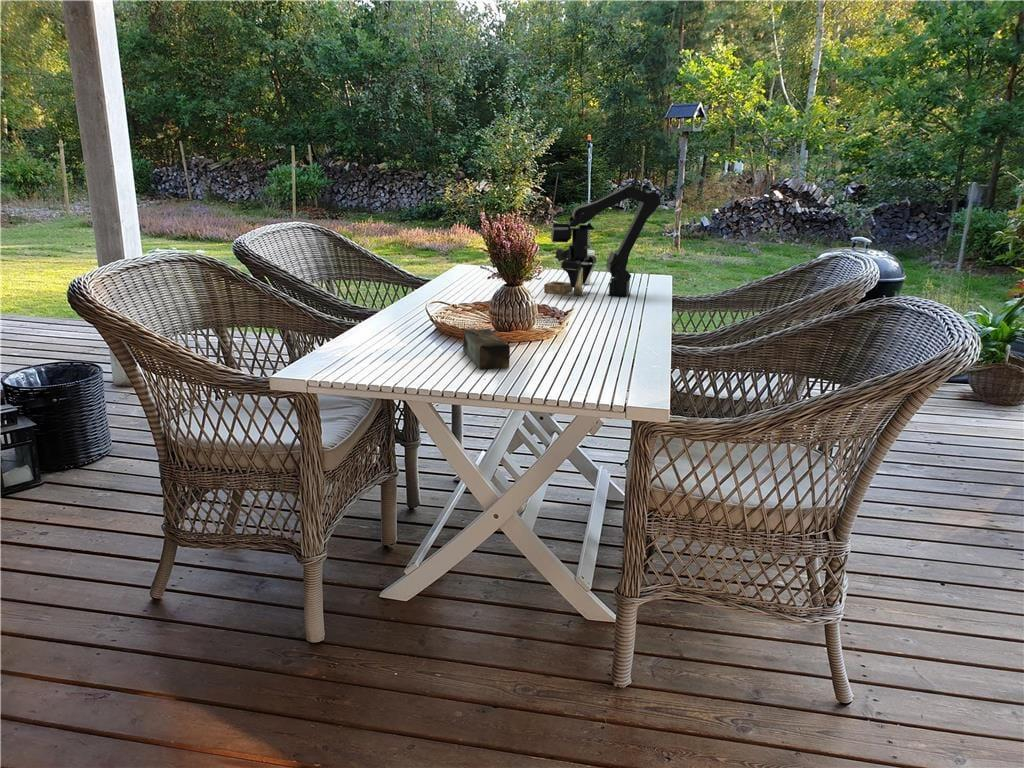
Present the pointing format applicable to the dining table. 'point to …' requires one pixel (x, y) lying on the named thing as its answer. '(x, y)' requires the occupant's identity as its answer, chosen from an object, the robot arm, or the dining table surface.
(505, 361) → the beverage carton
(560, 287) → the socket block
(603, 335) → the dining table surface
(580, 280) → the pin
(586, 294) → the mat
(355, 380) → the dining table surface
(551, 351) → the dining table surface
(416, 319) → the dining table surface
